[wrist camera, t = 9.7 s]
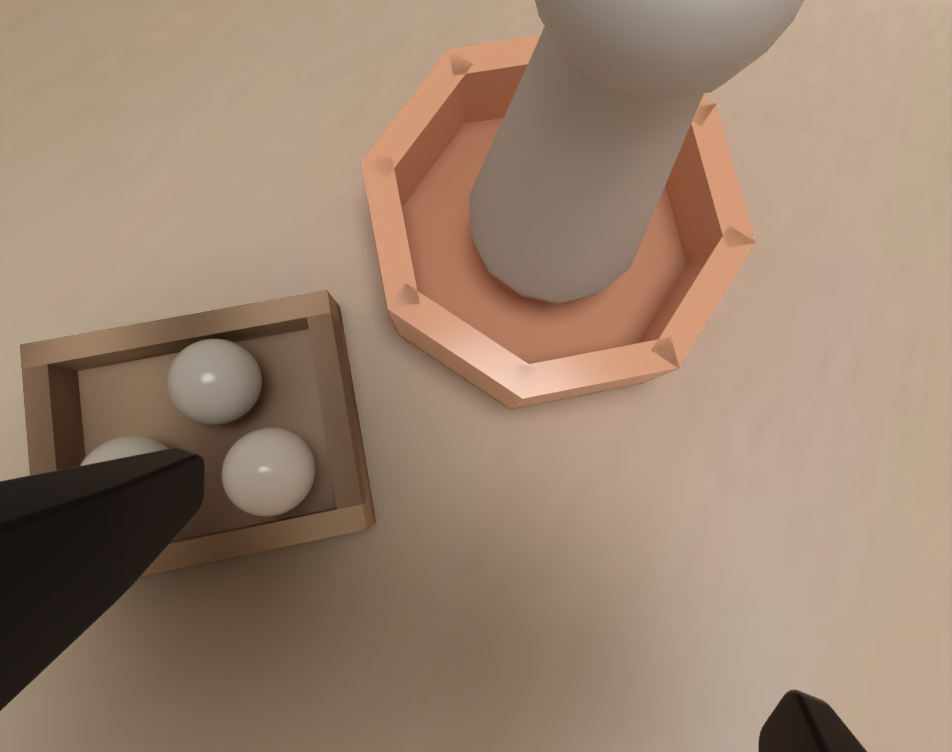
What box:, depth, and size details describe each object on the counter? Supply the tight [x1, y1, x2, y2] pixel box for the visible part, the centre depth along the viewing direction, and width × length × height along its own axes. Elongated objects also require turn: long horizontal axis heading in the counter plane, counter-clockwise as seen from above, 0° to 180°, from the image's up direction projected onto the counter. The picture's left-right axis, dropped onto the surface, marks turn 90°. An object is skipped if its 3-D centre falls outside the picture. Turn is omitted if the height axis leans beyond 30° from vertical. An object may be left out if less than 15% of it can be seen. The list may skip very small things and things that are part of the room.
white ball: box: [80, 435, 169, 466], centre depth 17 cm, size 3×3×3 cm
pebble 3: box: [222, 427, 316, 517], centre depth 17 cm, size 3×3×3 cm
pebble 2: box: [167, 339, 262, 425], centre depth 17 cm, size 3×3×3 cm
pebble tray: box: [20, 290, 376, 577], centre depth 18 cm, size 10×8×2 cm
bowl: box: [361, 35, 756, 409], centre depth 19 cm, size 12×12×4 cm
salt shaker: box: [469, 0, 804, 304], centre depth 13 cm, size 6×6×13 cm
